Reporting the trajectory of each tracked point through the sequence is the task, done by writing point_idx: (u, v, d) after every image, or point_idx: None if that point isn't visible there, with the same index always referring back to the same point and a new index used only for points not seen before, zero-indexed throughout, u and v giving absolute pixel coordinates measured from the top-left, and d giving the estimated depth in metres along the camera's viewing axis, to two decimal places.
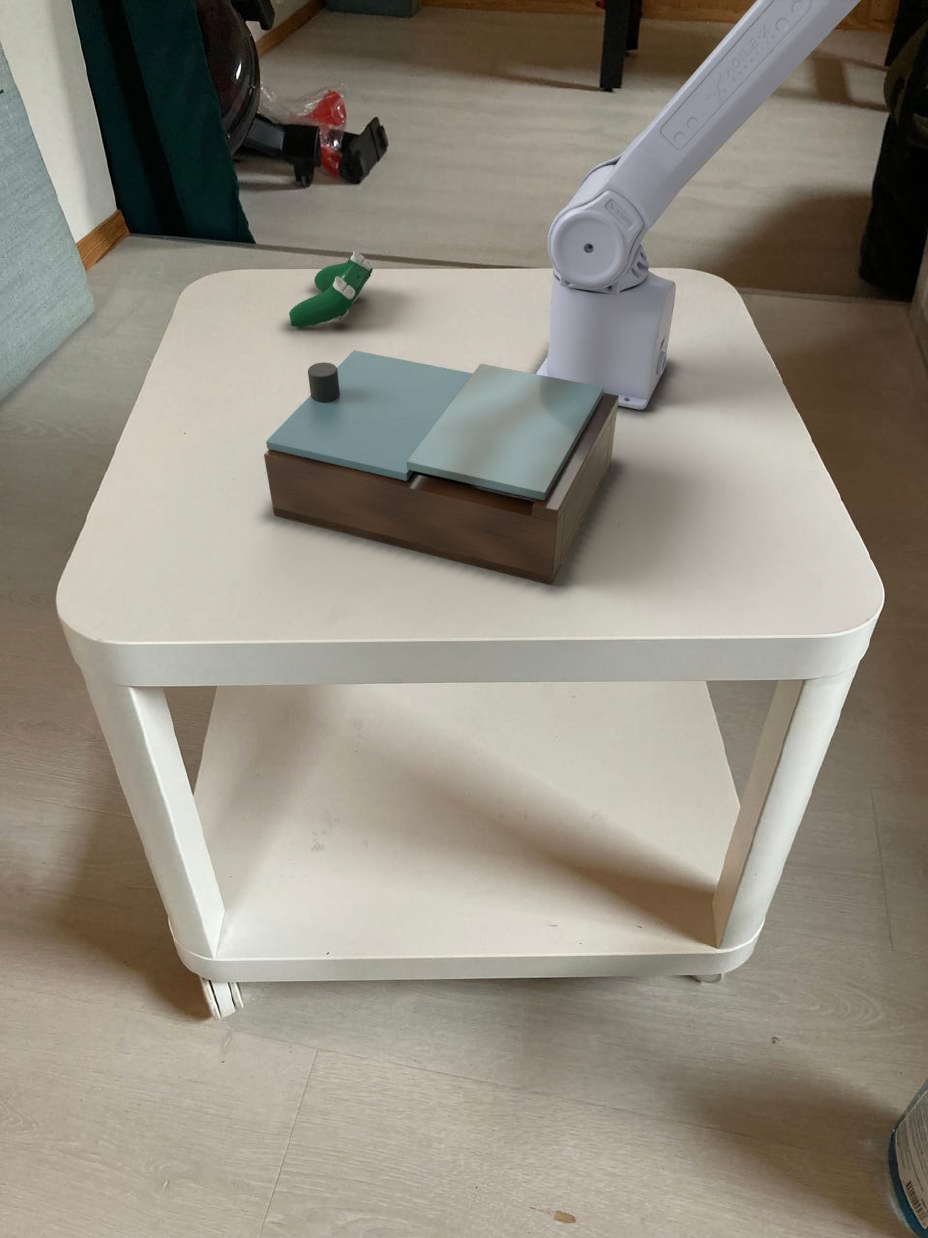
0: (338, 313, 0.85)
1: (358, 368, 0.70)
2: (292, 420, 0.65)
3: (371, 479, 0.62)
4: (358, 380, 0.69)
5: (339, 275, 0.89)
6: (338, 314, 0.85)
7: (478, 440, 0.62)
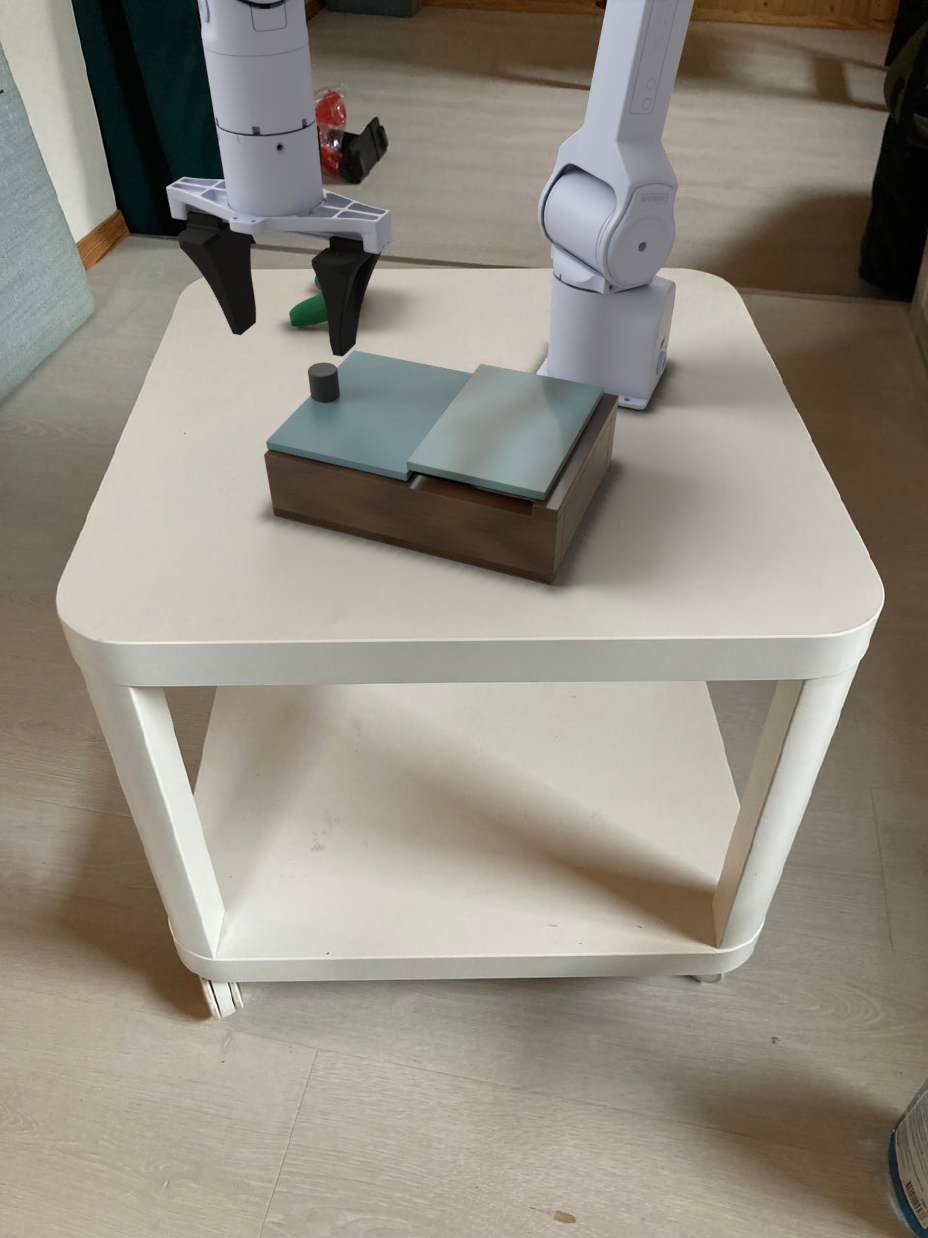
0: None
1: (358, 368, 0.70)
2: (292, 420, 0.65)
3: (371, 479, 0.62)
4: (358, 380, 0.69)
5: None
6: None
7: (478, 440, 0.62)
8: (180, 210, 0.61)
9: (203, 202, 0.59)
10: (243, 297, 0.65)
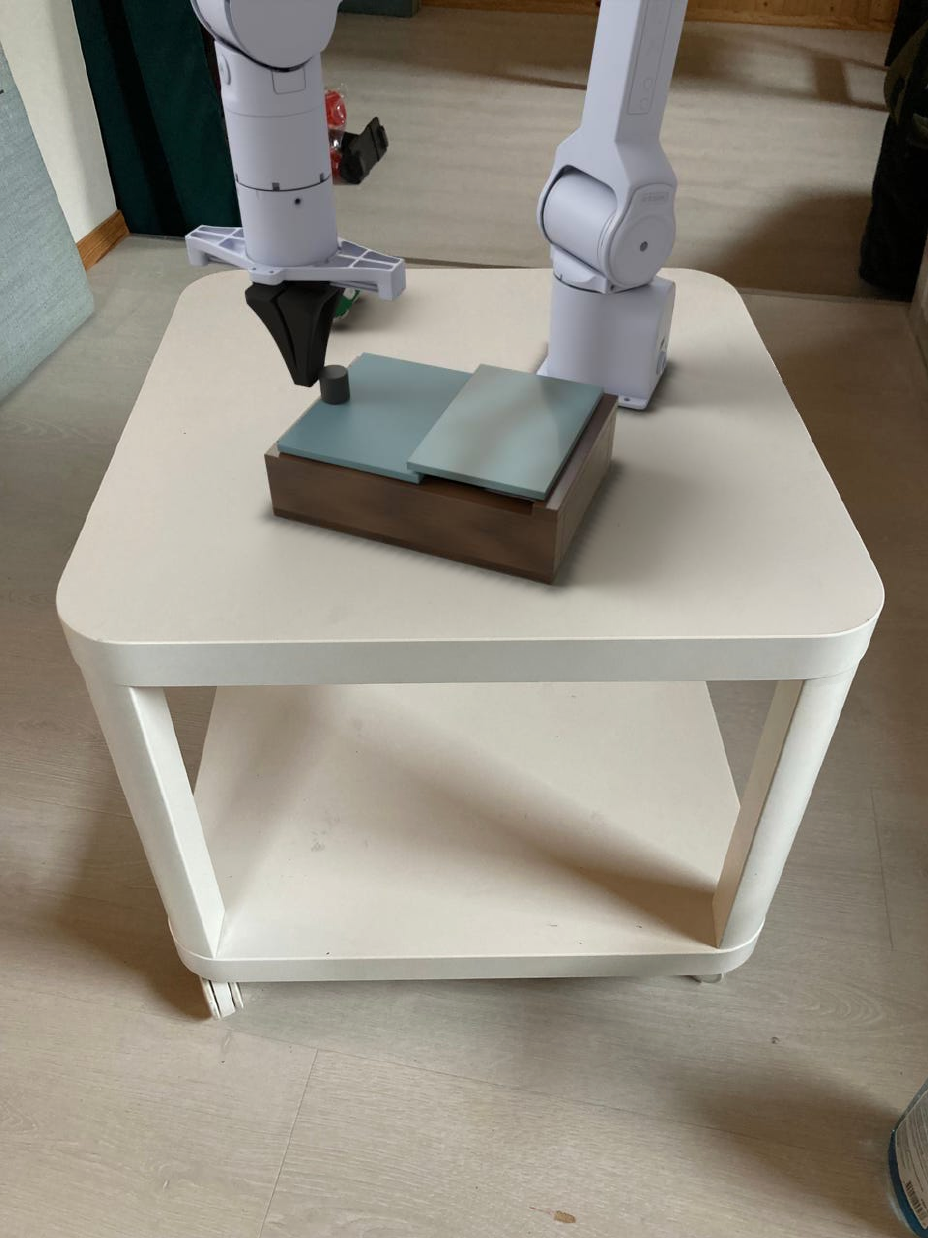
0: (338, 313, 0.85)
1: (368, 370, 0.70)
2: (303, 422, 0.65)
3: (371, 479, 0.62)
4: (368, 382, 0.69)
5: None
6: (338, 314, 0.85)
7: (478, 440, 0.62)
8: (198, 258, 0.63)
9: (222, 251, 0.61)
10: None
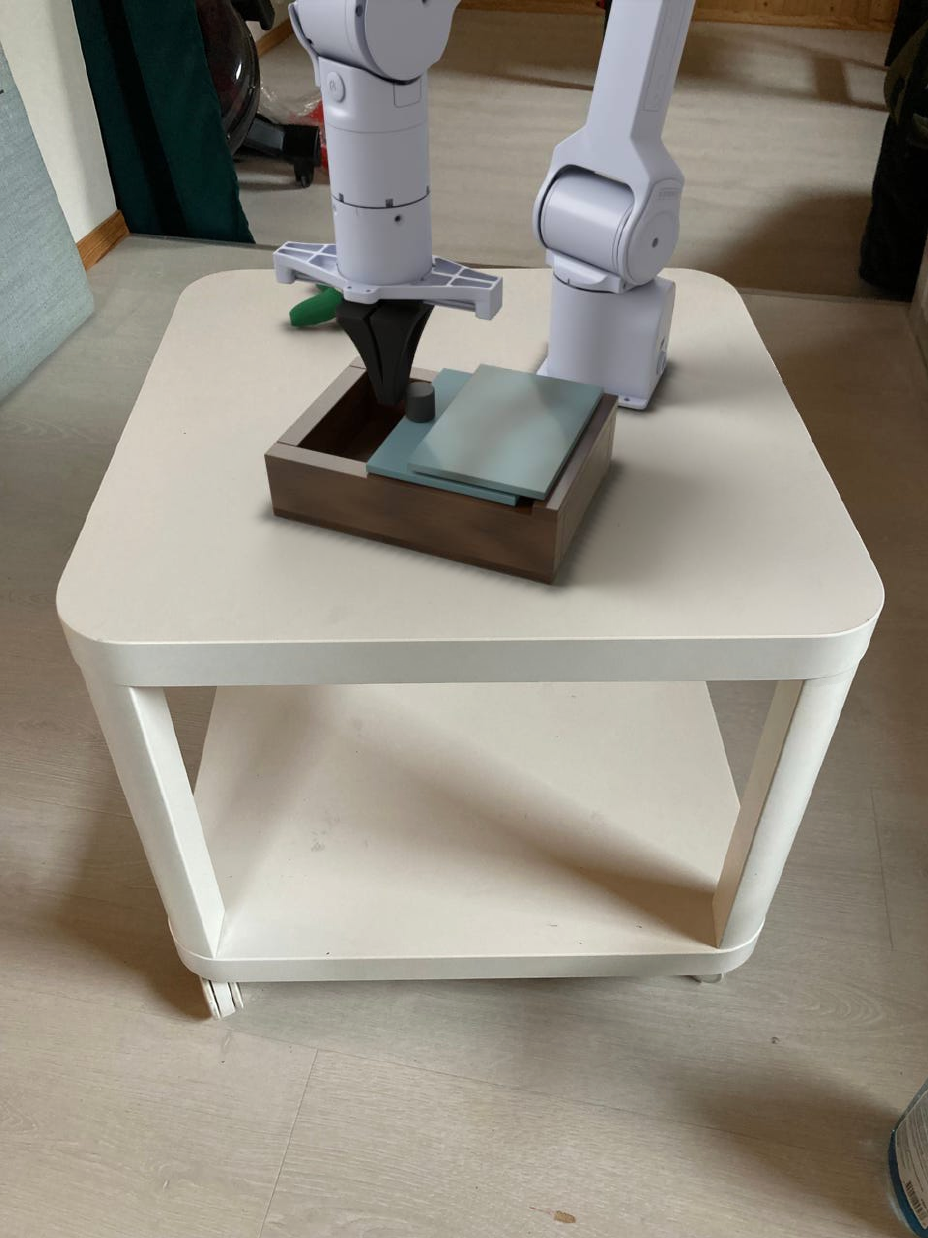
0: None
1: (451, 386, 0.68)
2: (389, 442, 0.63)
3: (371, 479, 0.62)
4: (452, 399, 0.67)
5: None
6: None
7: (478, 440, 0.62)
8: (286, 275, 0.61)
9: (312, 269, 0.59)
10: None
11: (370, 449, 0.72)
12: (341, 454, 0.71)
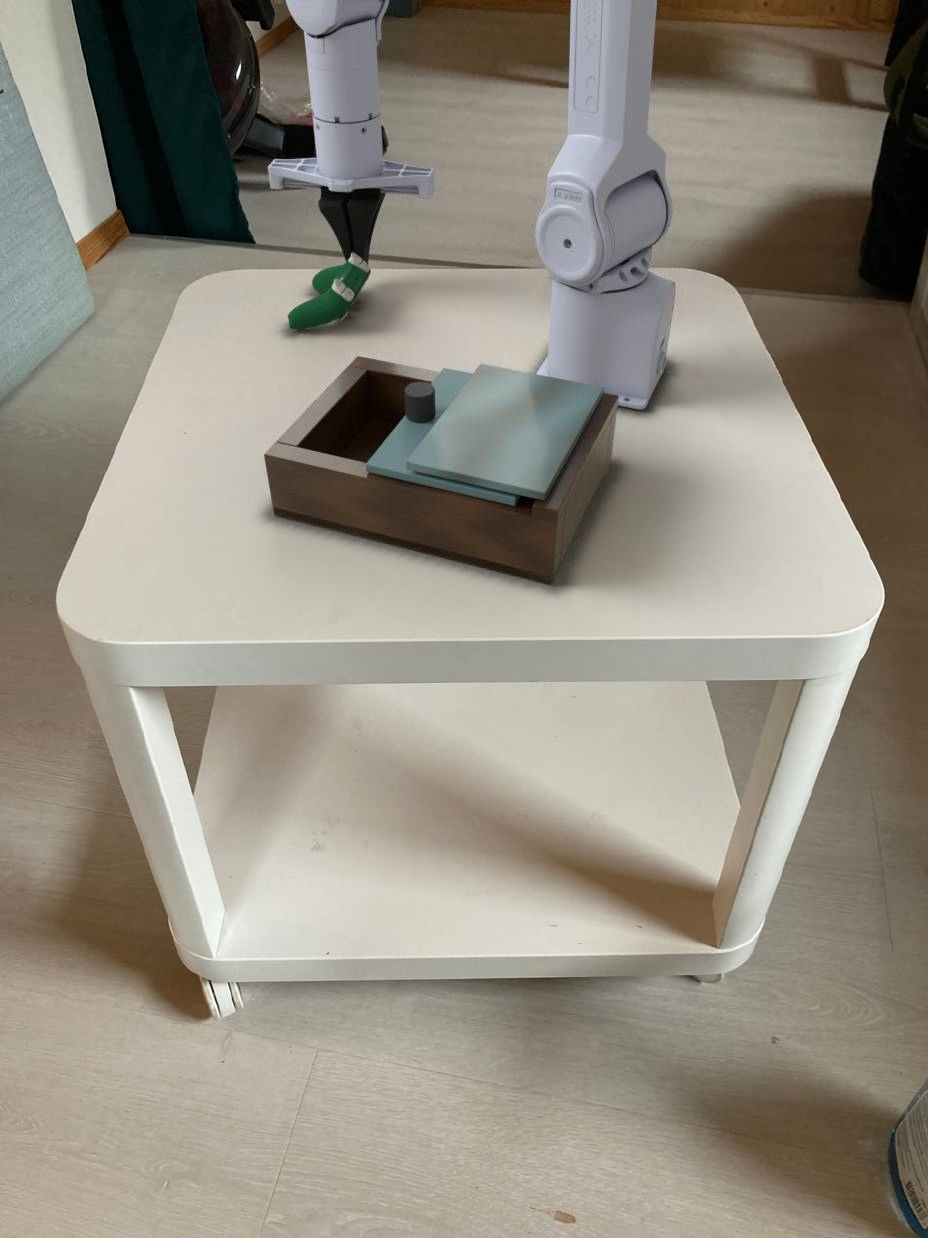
0: (337, 315, 0.85)
1: (451, 386, 0.68)
2: (390, 442, 0.63)
3: (371, 479, 0.62)
4: (452, 399, 0.67)
5: (337, 277, 0.89)
6: (337, 316, 0.85)
7: (478, 440, 0.62)
8: (278, 182, 0.86)
9: (300, 174, 0.85)
10: None
11: (370, 449, 0.72)
12: (341, 454, 0.71)
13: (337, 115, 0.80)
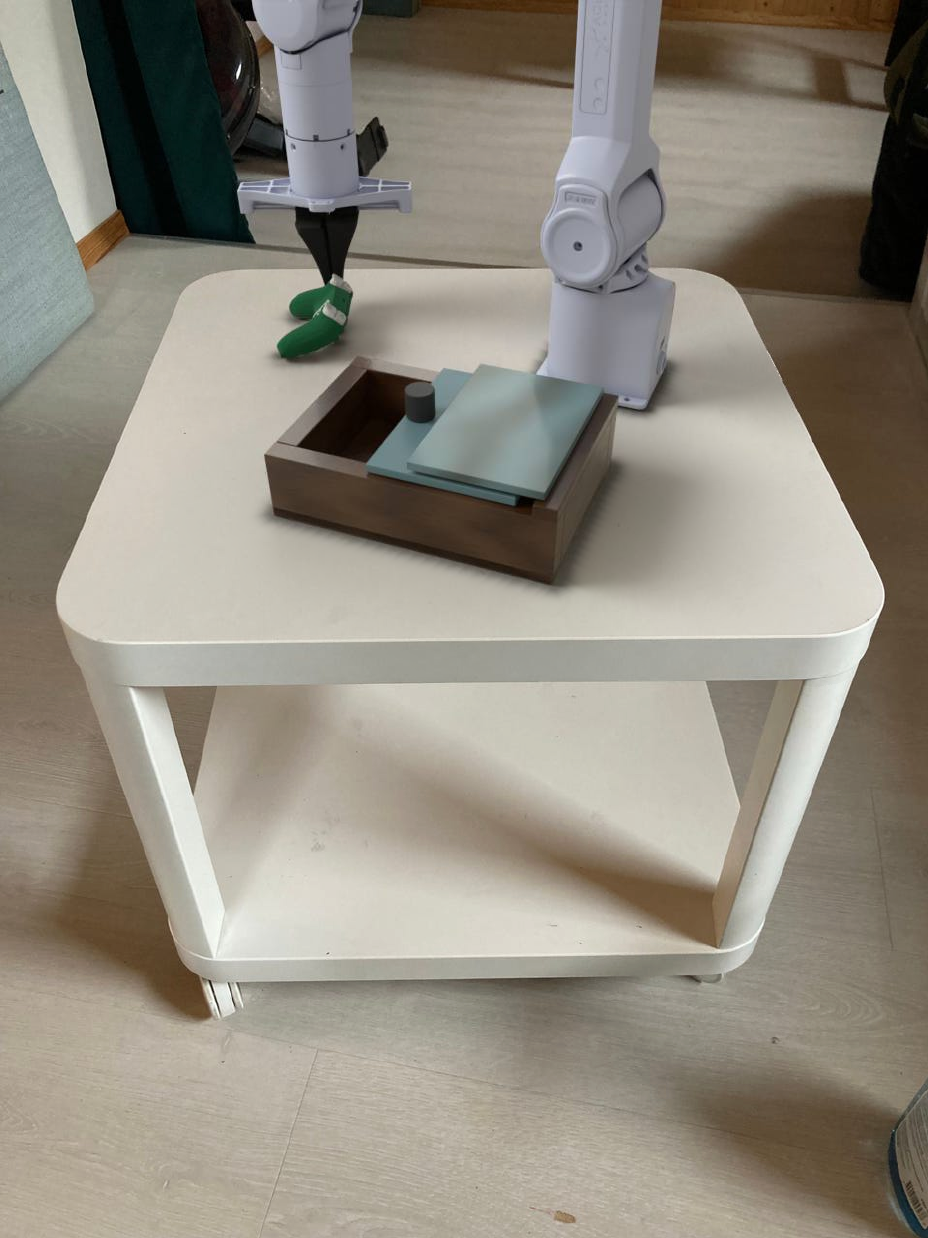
0: (331, 340, 0.82)
1: (451, 386, 0.68)
2: (390, 442, 0.63)
3: (371, 479, 0.62)
4: (452, 399, 0.67)
5: (319, 300, 0.86)
6: (331, 341, 0.82)
7: (478, 440, 0.62)
8: (248, 206, 0.82)
9: (274, 196, 0.81)
10: (332, 266, 0.87)
11: (370, 449, 0.72)
12: (341, 454, 0.71)
13: (316, 133, 0.77)
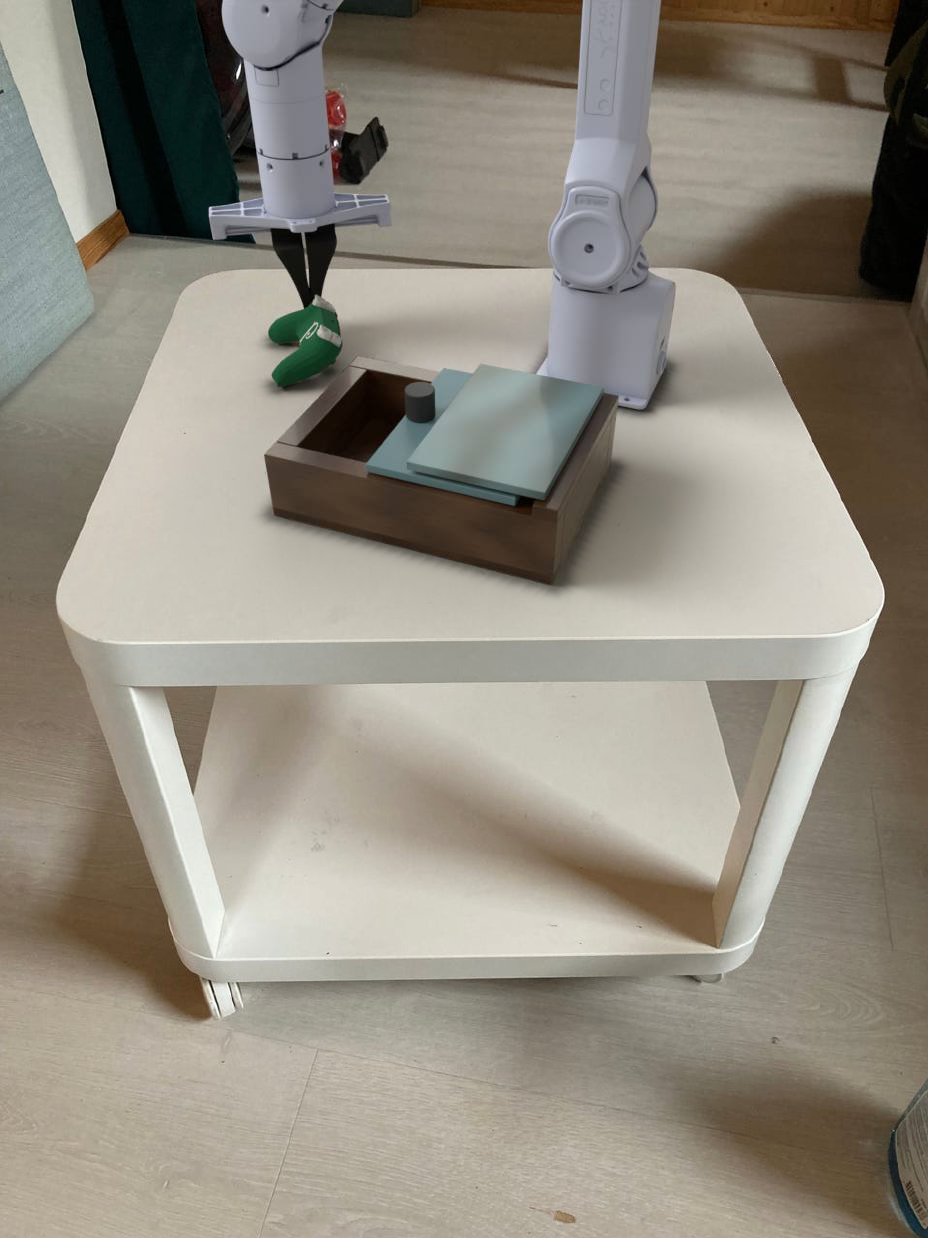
0: (329, 363, 0.79)
1: (451, 386, 0.68)
2: (390, 442, 0.63)
3: (371, 479, 0.62)
4: (452, 399, 0.67)
5: (302, 323, 0.83)
6: (328, 364, 0.79)
7: (478, 440, 0.62)
8: (221, 232, 0.79)
9: (250, 219, 0.78)
10: None
11: (370, 449, 0.72)
12: (341, 454, 0.71)
13: (295, 151, 0.74)
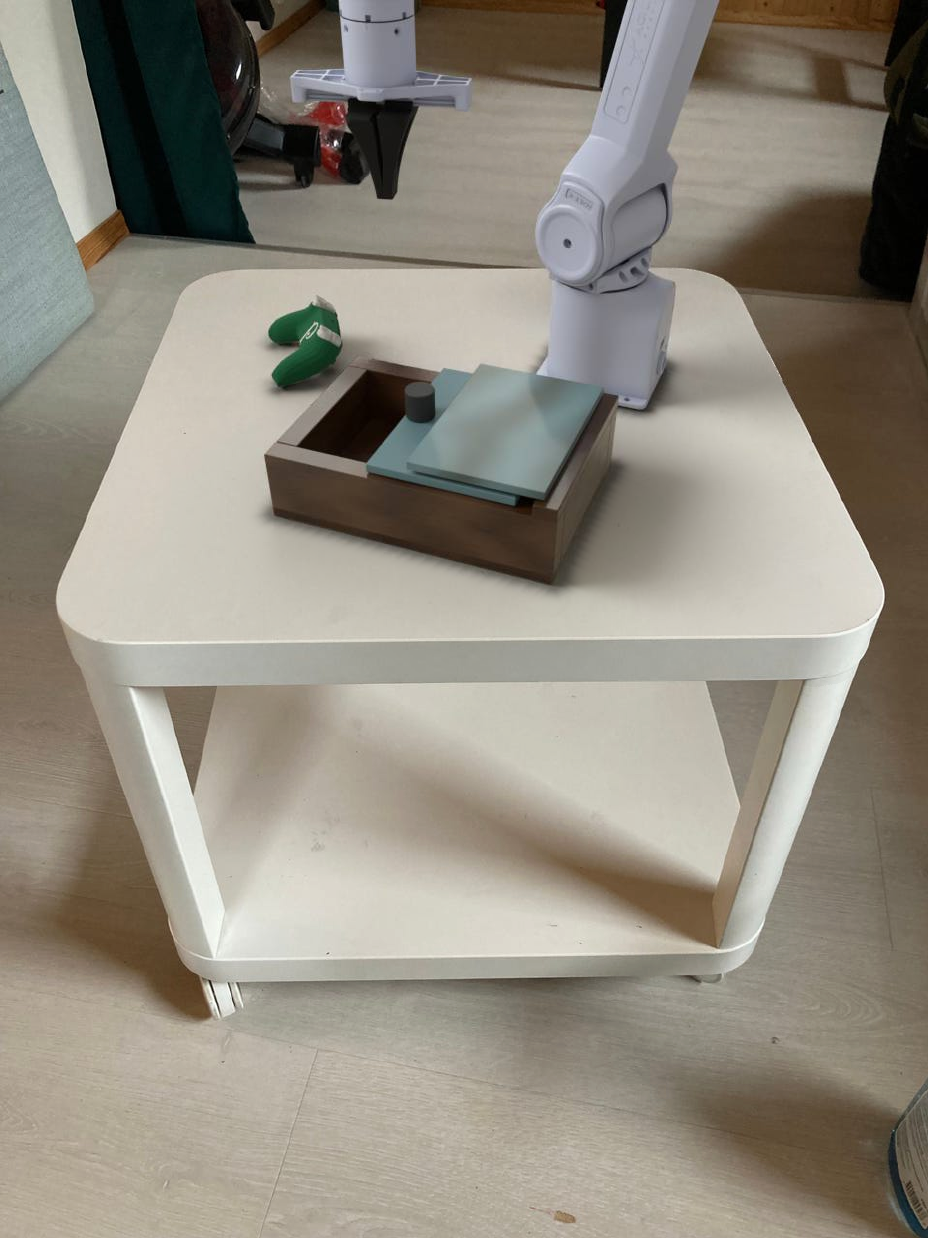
0: (329, 363, 0.79)
1: (451, 386, 0.68)
2: (390, 442, 0.63)
3: (371, 479, 0.62)
4: (452, 399, 0.67)
5: (302, 323, 0.83)
6: (328, 364, 0.79)
7: (478, 440, 0.62)
8: (301, 95, 0.79)
9: (326, 84, 0.78)
10: None
11: (370, 449, 0.72)
12: (341, 454, 0.71)
13: (368, 13, 0.73)
